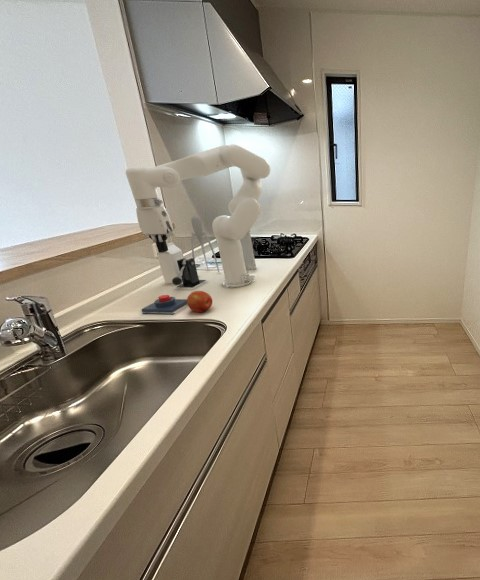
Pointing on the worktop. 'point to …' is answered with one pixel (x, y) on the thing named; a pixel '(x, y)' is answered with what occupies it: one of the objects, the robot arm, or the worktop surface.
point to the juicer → (200, 237)
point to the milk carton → (170, 262)
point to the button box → (165, 306)
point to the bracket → (189, 274)
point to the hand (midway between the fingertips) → (163, 251)
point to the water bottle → (248, 252)
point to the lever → (180, 274)
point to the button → (164, 298)
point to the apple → (199, 301)
